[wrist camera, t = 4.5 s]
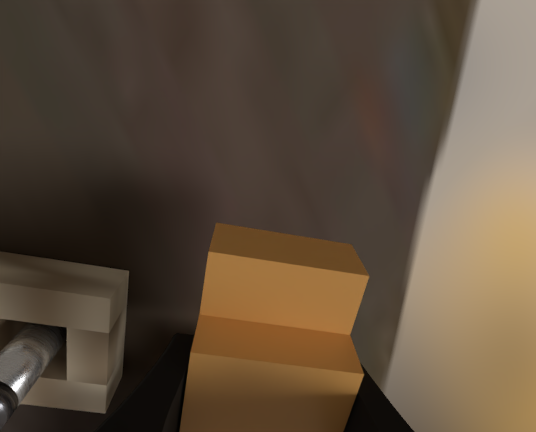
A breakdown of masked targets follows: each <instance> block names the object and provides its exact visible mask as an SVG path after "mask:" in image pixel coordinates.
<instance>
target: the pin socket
mask: <svg viewBox="0 0 536 432" xmlns="http://www.w3.org/2000/svg"><path fill="white" fill-rule="evenodd" d="M128 281H129V271H127V270H120V269H114V268H107V267H100V266H94V265H87V264H81V263H74V262H67V261H61V260H54V259H48V258H41V257H34V256H28V255H21V254H15V253H8V252H1V251H0V351H1V350H2V349H3V348H4V347H5V346H6V345H7V344H8V343H9V342H10V341H11V340H12V339H13V338H14V336H15V335H16V334H17V333H18V332H19V331H20V330H21V329H22V328H23V327H24V326H25V325H26V324H27V323H28V322H30V323H37V324H44V325H52V326H59V327H67V342H65V343H64V344H63V345H62V347H61V348H60V349H59V351H58V352H57V354H56V355H55V356H54V358H53V359H52V360H51V362H50V363H49V364H48V366H47V367H46V369H45V370H44V371H43V373H42V374H41V375H40V377H39V378H38V380H37V381H36V382H35V384H34V385H33V386H32V388H31V389H30V391H29V392H28V393H27V395H26V396H25V397H24V399H23V400H22V402H21V403H20V404H26V405H35V406H44V407H52V408H61V409H70V410H78V411H87V412H96V413H104V414H105V413H106V411H107V409H108V407H109V404H110V402H111V400H112V398H113V395H114V393H115V391H116V389H117V387H118V384H119V382H120V380H121V378H122V373H123V358H124V342H125V327H126V312H127V296H128Z"/></svg>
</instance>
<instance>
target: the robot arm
mask: <svg viewBox="0 0 536 432" xmlns="http://www.w3.org/2000/svg"><path fill="white" fill-rule="evenodd" d="M194 336H195V335H188V334H180V333H177V334H176V335H174V336H173V338H172V340H171V342H170V343H169V345H168V347H167V348H166V350H165V351H164V352H163V354H162V355H161V357H160V358H159V359H158V361H157V362H156V364H155V365H154V366H153V367H152V369H151V370H150V371H149V372H148V374H147V375H146V376H145V377H144V379H143V380H142V381H141V382H140V384H139V385H138V386H137V387H136V388H135V389H134V390H133V392H132V393H131V394H130V395H129V396H128V397H127V398H126V399H125V400H124V402H123V403H122V404H121V405H120V406H119V407H118V408H117V409H116V410H115V411H114V412H113V413H112V414H111V415H110V416H109V417H108V418H107V419H106V420H105V421H104V422H103V423H102V424H101V425H100V426H99V427H98V428H97V429H96V430H95V431H94V432H179V431H180V424H181V416H182V409H183V402H184V395H185V388H186V381H187V374H188V367H189V360H190V352H191V348H192V344H193V340H194ZM360 364H361V363H360ZM361 367H362V370H363V373H364V376H363V379H362V382H361V384H360V387H359V390H358V393H357V395H356V398H355V401H354V404H353V407H352V409H351V412H350V415H349V418H348V420H347V423H346V426H345V429H344V431H343V432H414V431H413V430H412V429H411V428H410V426H409V425H408V424H407V423H406V421H405V420H404V419H403V418H402V417H401V415H400V414H399V413H398V412H397V410H396V409H395V408H394V407H393V406H392V404H391V403H390V402H389V400H388V399H387V398H386V396H385V395H384V394H383V392H382V391H381V390H380V388H379V387H378V386H377V385H376V383H375V382H374V381H373V379H372V378H371V377H370V375H369V374H368V373H367V371H366V370H365V369H364V367H363V366H362V365H361Z"/></svg>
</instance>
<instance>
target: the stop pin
mask: <svg viewBox="0 0 536 432" xmlns="http://www.w3.org/2000/svg"><path fill="white" fill-rule="evenodd" d="M66 340H67V327H59V326H52V325H44V324H37V323H30V322H28V323H27V324H26V325H25V326H24V327H23V328H22V329H21V330H20V331H19V332H18V333H17V334H16V335H15V336H14V338H13V339H12V340H11V341H10V342H9V343H8V344H7V345H6V346H5V347H4V348H3V349H2V350H1V351H0V429H2V428H3V426H4V425H5V424H6V422H7V421H8V419H9V418H10V417H11V415H12V414H13V413H14V411H15V410H16V408H17V407H18V406H19V404H20V403H21V402H22V400H23V399H24V397H25V396H26V395H27V393H28V392H29V391H30V389H31V388H32V386H33V385H34V384H35V382H36V381H37V380H38V378H39V377H40V375H41V374H42V373H43V371H44V370H45V369H46V367H47V366H48V364H49V363H50V362H51V360H52V359H53V358H54V356H55V355H56V354H57V352H58V351H59V349H60V348H61V347H62V345H63V344H64V343H65V341H66Z"/></svg>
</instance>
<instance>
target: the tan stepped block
mask: <svg viewBox="0 0 536 432" xmlns="http://www.w3.org/2000/svg"><path fill="white" fill-rule="evenodd" d="M368 278H369V275H368V273H367V271H366V269H365V268H364V266H363V264H362V262H361V261H360V259H359V257H358V255H357V253H356V252H355V250H354V248H353V246H352V245H351V244H346V243H340V242H333V241H327V240H321V239H315V238H308V237H302V236H296V235H290V234H284V233H277V232H271V231H265V230H259V229H253V228H246V227H240V226H234V225H228V224H221V223H216V226H215V230H214V233H213V237H212V241H211V244H210V248H209V252H208V259H207V266H206V273H205V280H204V287H203V294H202V301H201V307H200V314H199V319H198V323H197V327H196V331H195V336H194V340H193V344H192V348H191V352H190V360H189V367H188V374H187V381H186V388H185V395H184V402H183V409H182V416H181V424H180V431H179V432H343V431H344V429H345V426H346V423H347V420H348V418H349V415H350V412H351V409H352V407H353V404H354V401H355V398H356V395H357V393H358V390H359V387H360V384H361V382H362V379H363V376H364V373H363V370H362V367H361V364H360V361H359V359H358V356H357V353H356V350H355V348H354V345H353V342H352V339H351V337H350V333H351V330H352V327H353V324H354V321H355V318H356V315H357V312H358V309H359V306H360V303H361V300H362V297H363V294H364V291H365V288H366V285H367V282H368Z"/></svg>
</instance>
